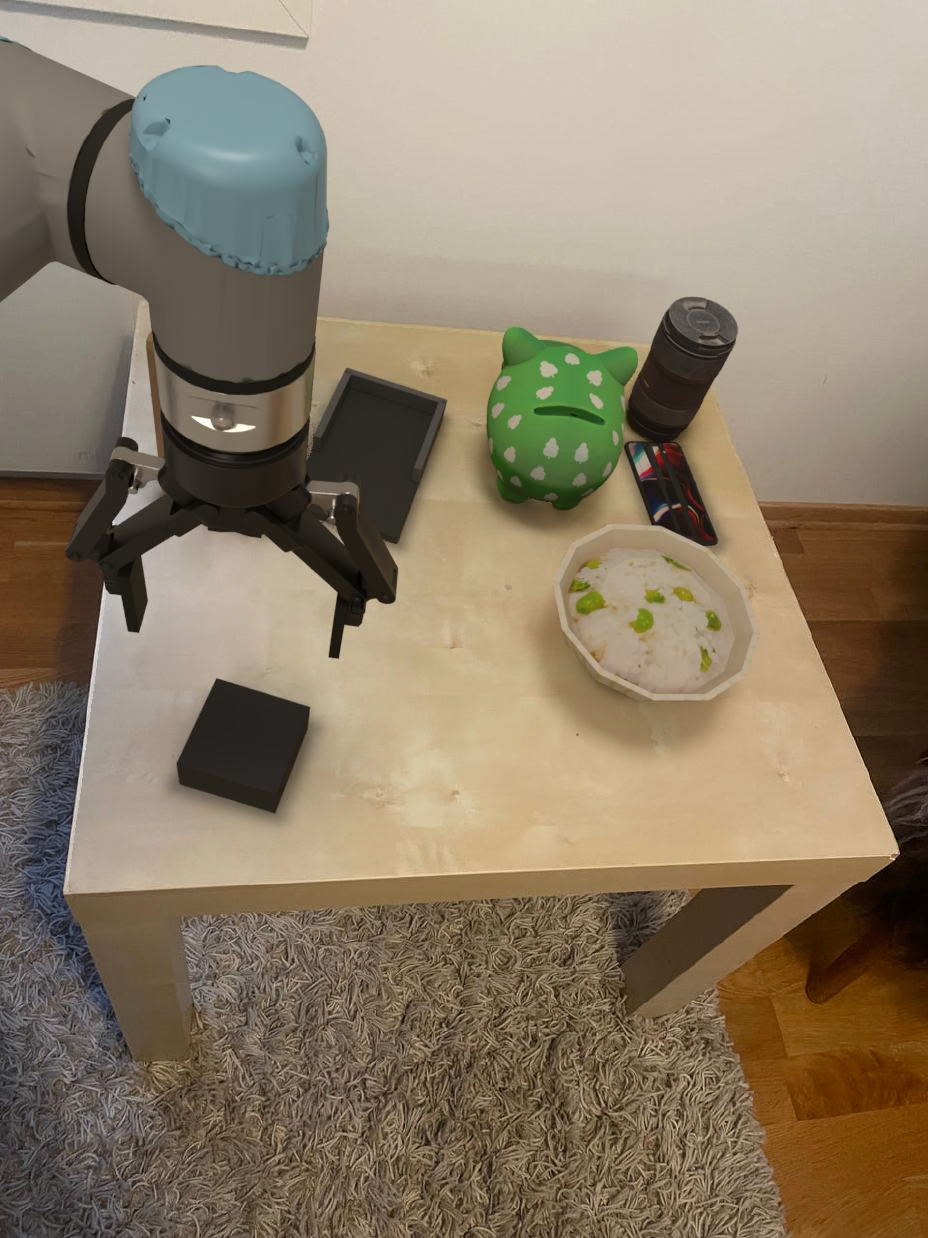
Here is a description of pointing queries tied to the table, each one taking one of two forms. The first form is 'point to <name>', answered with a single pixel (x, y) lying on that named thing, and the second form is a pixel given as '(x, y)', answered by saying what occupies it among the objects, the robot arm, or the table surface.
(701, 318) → the camera lens
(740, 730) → the table surface
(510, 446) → the piggy bank
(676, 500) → the smartphone
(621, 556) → the bowl
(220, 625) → the table surface
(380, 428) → the black tray
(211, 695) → the foam pad
